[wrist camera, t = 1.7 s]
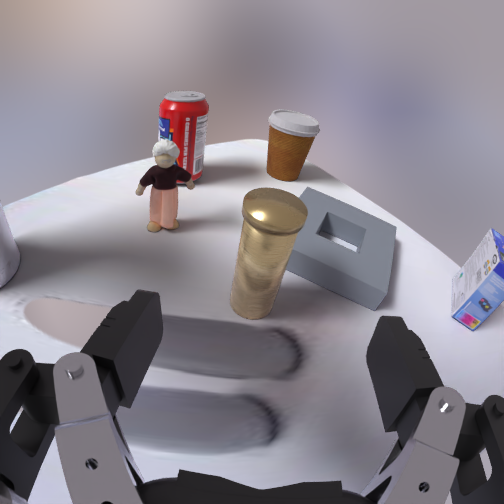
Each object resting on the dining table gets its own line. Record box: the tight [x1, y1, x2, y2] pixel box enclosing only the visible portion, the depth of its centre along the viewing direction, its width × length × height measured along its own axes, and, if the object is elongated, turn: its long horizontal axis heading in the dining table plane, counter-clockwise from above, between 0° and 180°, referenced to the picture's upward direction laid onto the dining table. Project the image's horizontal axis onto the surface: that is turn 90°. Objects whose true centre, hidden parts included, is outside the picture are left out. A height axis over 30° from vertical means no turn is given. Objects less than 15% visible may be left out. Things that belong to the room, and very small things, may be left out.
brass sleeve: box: [230, 188, 308, 320], centre depth 29 cm, size 5×5×13 cm
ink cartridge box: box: [452, 228, 504, 331], centre depth 33 cm, size 10×6×14 cm, turn 148°
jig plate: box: [286, 187, 396, 311], centre depth 41 cm, size 16×16×4 cm
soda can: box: [158, 91, 209, 184], centre depth 45 cm, size 8×8×15 cm
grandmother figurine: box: [136, 139, 195, 232], centre depth 36 cm, size 8×4×13 cm, turn 121°
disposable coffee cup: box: [267, 110, 320, 181], centre depth 53 cm, size 10×10×12 cm
